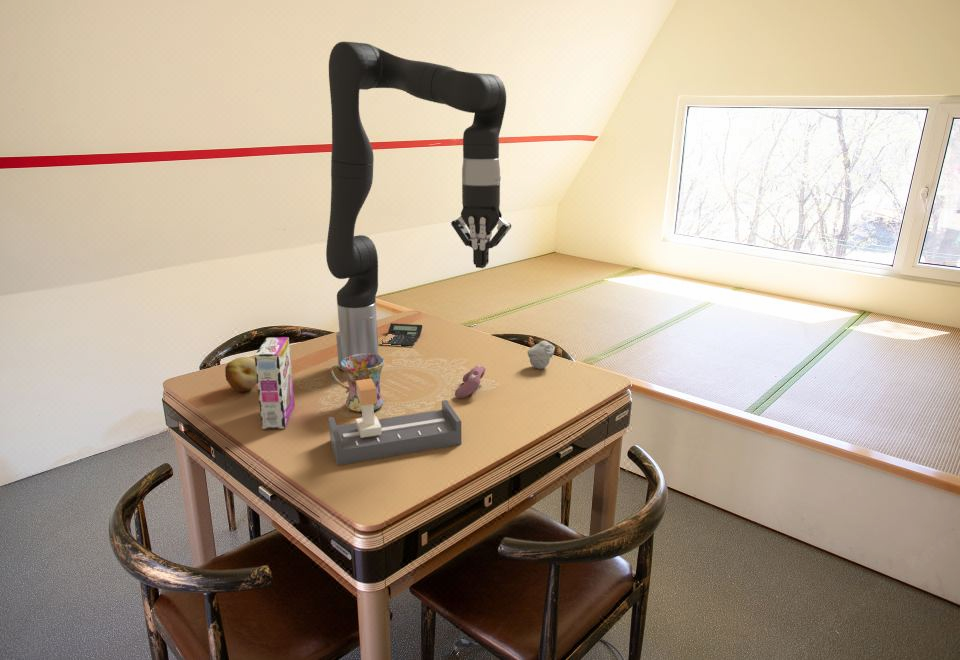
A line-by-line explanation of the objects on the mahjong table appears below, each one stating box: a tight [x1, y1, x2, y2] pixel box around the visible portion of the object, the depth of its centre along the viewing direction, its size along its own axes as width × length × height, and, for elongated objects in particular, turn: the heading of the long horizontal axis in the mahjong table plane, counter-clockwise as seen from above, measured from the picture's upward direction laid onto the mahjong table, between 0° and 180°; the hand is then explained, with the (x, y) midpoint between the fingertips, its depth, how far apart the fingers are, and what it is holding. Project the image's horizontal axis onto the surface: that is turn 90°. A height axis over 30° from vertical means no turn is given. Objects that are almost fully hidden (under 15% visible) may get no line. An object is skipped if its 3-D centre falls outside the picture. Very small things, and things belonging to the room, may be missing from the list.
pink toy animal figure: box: [454, 364, 487, 399], centre depth 151 cm, size 10×5×7 cm, turn 169°
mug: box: [330, 354, 386, 413], centre depth 143 cm, size 12×9×11 cm
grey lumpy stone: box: [527, 340, 556, 370], centre depth 164 cm, size 6×7×7 cm
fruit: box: [224, 356, 258, 392], centre depth 151 cm, size 8×8×8 cm
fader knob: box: [355, 379, 382, 438], centre depth 124 cm, size 4×5×10 cm
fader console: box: [328, 399, 463, 466], centre depth 128 cm, size 24×10×5 cm, turn 109°
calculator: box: [381, 322, 423, 347], centre depth 185 cm, size 9×12×3 cm
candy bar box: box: [254, 336, 296, 430], centre depth 136 cm, size 11×5×16 cm, turn 5°
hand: (481, 267), depth 135 cm, fingers closed
